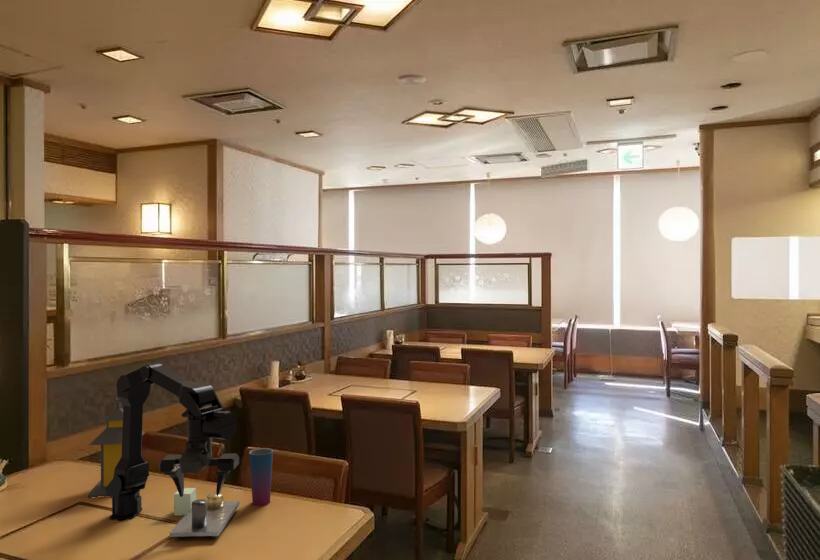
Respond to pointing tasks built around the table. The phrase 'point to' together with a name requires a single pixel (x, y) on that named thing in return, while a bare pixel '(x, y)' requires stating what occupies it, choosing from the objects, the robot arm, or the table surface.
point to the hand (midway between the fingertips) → (199, 495)
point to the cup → (261, 475)
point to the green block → (184, 501)
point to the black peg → (199, 513)
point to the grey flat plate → (214, 522)
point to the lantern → (109, 449)
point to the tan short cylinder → (214, 500)
